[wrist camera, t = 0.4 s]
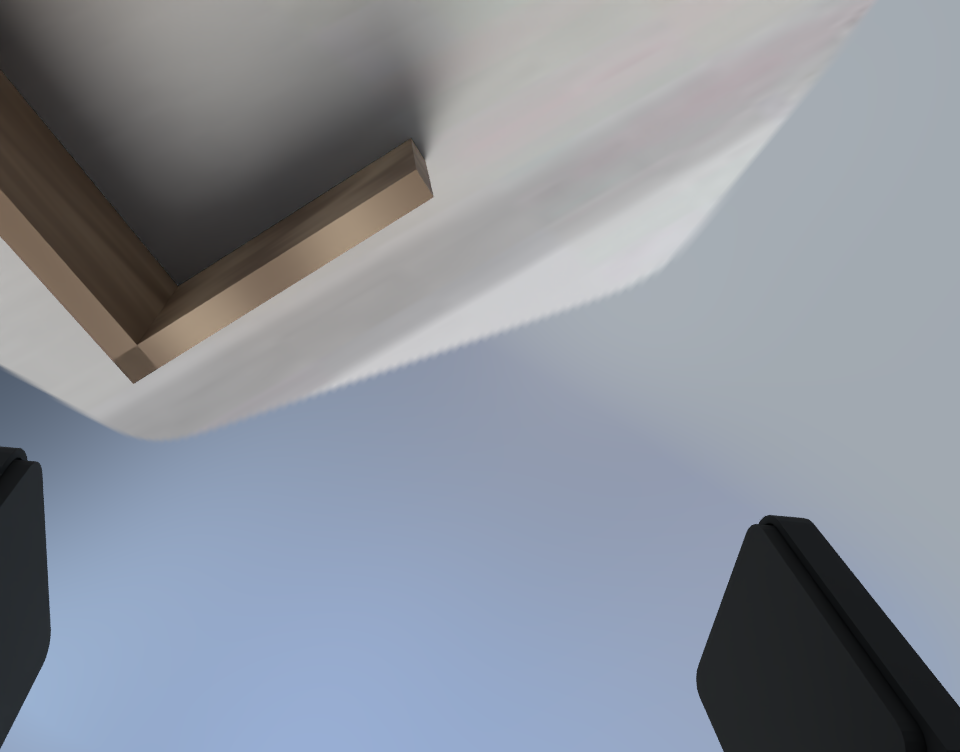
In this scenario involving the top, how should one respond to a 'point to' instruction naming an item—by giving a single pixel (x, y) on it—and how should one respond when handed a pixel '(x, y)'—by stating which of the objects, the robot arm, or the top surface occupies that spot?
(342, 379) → the top surface
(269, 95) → the top surface
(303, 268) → the wooden box
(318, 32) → the top surface
